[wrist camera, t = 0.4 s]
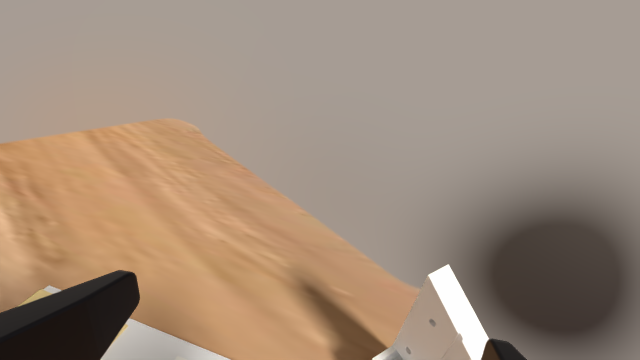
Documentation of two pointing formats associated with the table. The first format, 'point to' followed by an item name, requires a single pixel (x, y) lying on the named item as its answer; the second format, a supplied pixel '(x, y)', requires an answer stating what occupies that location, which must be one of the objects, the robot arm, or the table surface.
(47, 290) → the board
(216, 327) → the table surface
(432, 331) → the white angled block
